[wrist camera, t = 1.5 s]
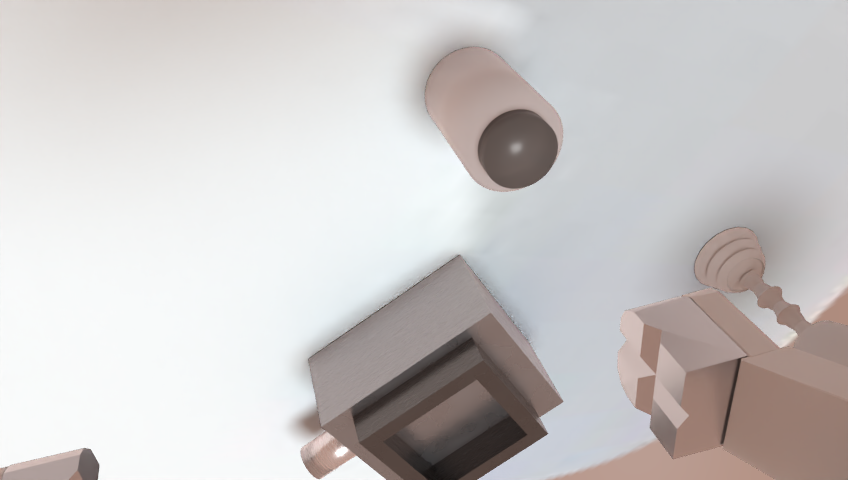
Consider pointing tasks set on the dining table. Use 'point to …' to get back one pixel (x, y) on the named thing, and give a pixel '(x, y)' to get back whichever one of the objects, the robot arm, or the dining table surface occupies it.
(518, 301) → the dining table surface
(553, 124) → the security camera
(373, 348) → the motor block
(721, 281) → the chalice
